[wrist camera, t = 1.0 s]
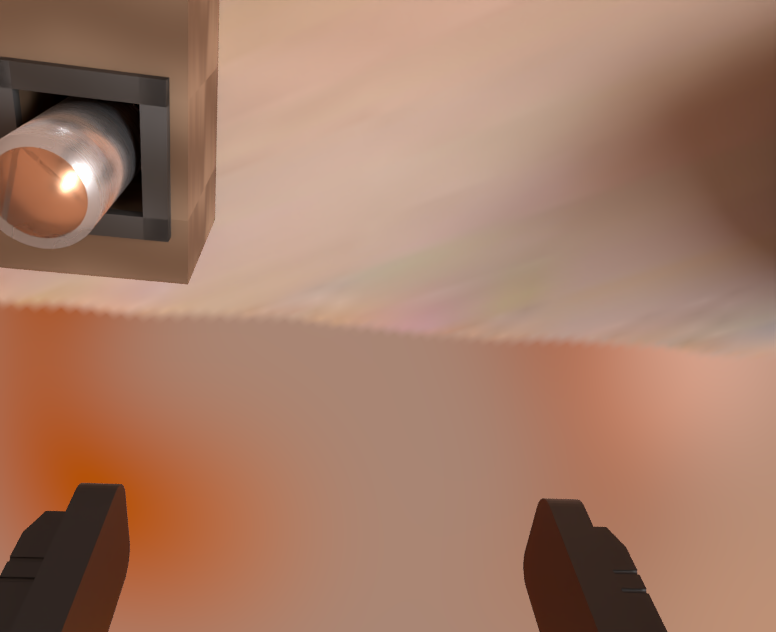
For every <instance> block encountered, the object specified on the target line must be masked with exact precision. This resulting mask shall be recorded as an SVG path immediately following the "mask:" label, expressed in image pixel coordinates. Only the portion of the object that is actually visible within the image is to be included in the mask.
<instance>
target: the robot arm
mask: <svg viewBox="0 0 776 632" xmlns="http://www.w3.org/2000/svg"><path fill="white" fill-rule="evenodd" d="M129 552H130V541H129V530H128V519H127V507H126V496H125V489H124V486H123V485H122V484H96V483H81V484H79V485H78V487H77V488H76V490H75V492H74V495H73V497H72V499H71V501H70V504H69V505H68V508H67V510H66V512H63V511H45V512H44V513H43V514H42V515H41V516H40V517H39V518H38V519H37V520H36V521H35V522H33V524H31V525H30V526H29V527H28V528H27V529H26V530H25V531H24V532H23V533H22V535H21V537H20V539H19V540H18V542H17V544H16V546H15V548H14V550H13V552H12V554H11V556H10V561H9V562H7V563H6V565H5V568H4V569H3V571H2V573H1V575H0V632H108V630H109V627H110V624H111V621H112V618H113V615H114V612H115V608H116V605H117V602H118V599H119V596H120V593H121V590H122V586H123V584H124V580H125V577H126V573H127V568H128V562H129ZM523 569H524V580H525V585H526V588H527V592H528V595H529V599H530V602H531V605H532V608H533V612H534V615H535V618H536V622H537V625H538V628H539V631H540V632H667V630H666V628H665V626H664V624H663V622H662V620H661V618H660V616H659V614H658V612H657V610H656V608H655V606H654V604H653V602H652V600H651V598H650V595H649V594H647V593H646V587H645V585H644V583H643V581H642V579H641V577H640V575H637V569H636V567H635V565H634V563H633V561H632V559H631V557H630V554H629V552H628V550H627V549H626V547H625V546H624V545H623V544H622V543H621V542H620V541H619V540H618V539H617V538H616V537H615V536H614V535H613V534H612V533H611V532H610V530H608V528H606V527H593V525H592V523H591V520H590V518H589V516H588V514H587V512H586V509H585V507H584V505H583V504H582V502H581V501H580V500H574V499H541V500H540V501H539V503H538V506H537V509H536V513H535V517H534V520H533V525H532V528H531V531H530V535H529V539H528V543H527V546H526V550H525V554H524V562H523Z"/></svg>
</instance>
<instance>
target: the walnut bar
mask: <svg viewBox="0 0 776 632" xmlns="http://www.w3.org/2000/svg"><path fill="white" fill-rule="evenodd" d="M218 35H219V0H0V139H1V138H3V137H4V136H6V135H7V134H9V133H11V132H12V131H14V130H15V129H17V128H19V127H20V126H22V125H24V124H25V123H27V122H28V121H30V120H32V119H33V118H35V117H36V116H38V115H40V114H41V113H43V112H45V111H46V110H48V109H49V108H51V107H53V106H54V105H56V104H57V103H59V102H61V101H62V100H64V99H66V98H67V97H69V96H76V97H85V98H93V99H101V100H109V101H118V102H126V103H134V104H139V106H140V138H141V170H140V171H139V173H138V174H137V175H136V176H135V177H134V179H133V180H132V181H131V182H130V184H129V185H128V186H127V187H126V189H125V190H124V191H123V192H122V193H121V195H120V196H119V197H118V198H117V200H116V201H115V202H114V203H113V204H112V206H111V207H110V208H109V209H108V211H107V212H106V213H105V214H104V216H103V217H102V218H101V219H100V220H99V222H98V223H97V224H96V225H95V227H94V228H93V229H92V230H91V232H90V233H89V234H88V235H87V236H86V237H84V238H83V239H82V240H80V241H79V242H77V243H75V244H73V245H70V246H67V247H63V248H56V249H44V248H37V247H33V246H29V245H26V244H23V243H21V242H19V241H17V240H15V239H13V238H11V237H10V236H8V235H6V234H5V233H4V232H2V231H1V230H0V267H2V268H13V269H24V270H35V271H46V272H57V273H69V274H80V275H91V276H102V277H113V278H124V279H135V280H146V281H157V282H168V283H179V284H188V283H189V280H190V278H191V275H192V273H193V271H194V268H195V266H196V263H197V261H198V259H199V256H200V254H201V251H202V249H203V247H204V244H205V242H206V239H207V237H208V235H209V232H210V230H211V227H212V225H213V223H214V220H215V184H216V135H217V85H218Z"/></svg>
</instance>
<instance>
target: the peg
mask: <svg viewBox="0 0 776 632" xmlns="http://www.w3.org/2000/svg"><path fill="white" fill-rule="evenodd" d="M140 170H141V138H140V111H139V110H138V108H137V107H136V106H135V105H134V104H133V103H126V102H118V101H109V100H101V99H93V98H85V97H76V96H69V97H67V98H66V99H64V100H62V101H61V102H59V103H57V104H56V105H54V106H53V107H51V108H49V109H48V110H46V111H45V112H43V113H41V114H40V115H38V116H36V117H35V118H33V119H32V120H30V121H28V122H27V123H25V124H24V125H22V126H20V127H19V128H17V129H15V130H14V131H12V132H11V133H9V134H7V135H6V136H4V137H3V138H1V139H0V230H1V231H2V232H4V233H5V234H6V235H8V236H10V237H11V238H13V239H15V240H17V241H19V242H21V243H23V244H26V245H29V246H33V247H37V248H44V249H56V248H63V247H67V246H70V245H73V244H75V243H77V242H79V241H80V240H82V239H83V238H84V237H86V236H87V235H88V234H89V233H90V232H91V230H92V229H93V228H94V227H95V225H96V224H97V223H98V222H99V220H100V219H101V218H102V217H103V216H104V214H105V213H106V212H107V211H108V209H109V208H110V207H111V206H112V204H113V203H114V202H115V201H116V200H117V198H118V197H119V196H120V195H121V193H122V192H123V191H124V190H125V189H126V187H127V186H128V185H129V184H130V182H131V181H132V180H133V179H134V177H135V176H136V175H137V174H138V173H139V171H140Z"/></svg>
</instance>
